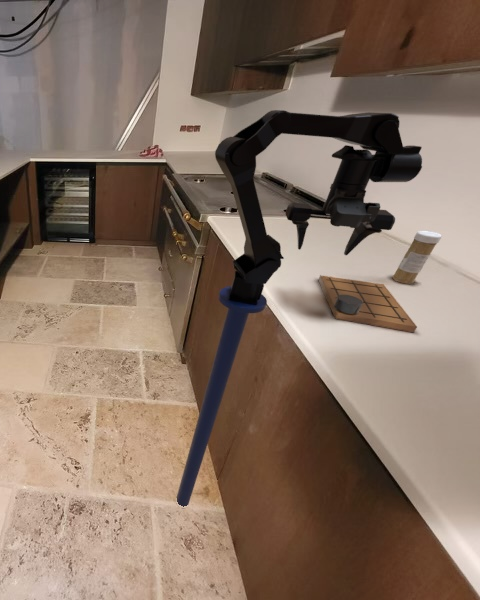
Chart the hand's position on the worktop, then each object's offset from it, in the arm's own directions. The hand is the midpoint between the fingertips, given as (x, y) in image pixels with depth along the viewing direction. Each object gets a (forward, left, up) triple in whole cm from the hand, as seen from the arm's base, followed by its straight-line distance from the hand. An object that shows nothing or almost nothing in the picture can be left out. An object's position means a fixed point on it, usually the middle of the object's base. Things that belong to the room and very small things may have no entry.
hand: (321, 251), depth 75 cm
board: (+12, +1, -12) cm, 17 cm away
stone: (+7, -6, -10) cm, 14 cm away
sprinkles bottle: (+26, +19, -12) cm, 34 cm away
